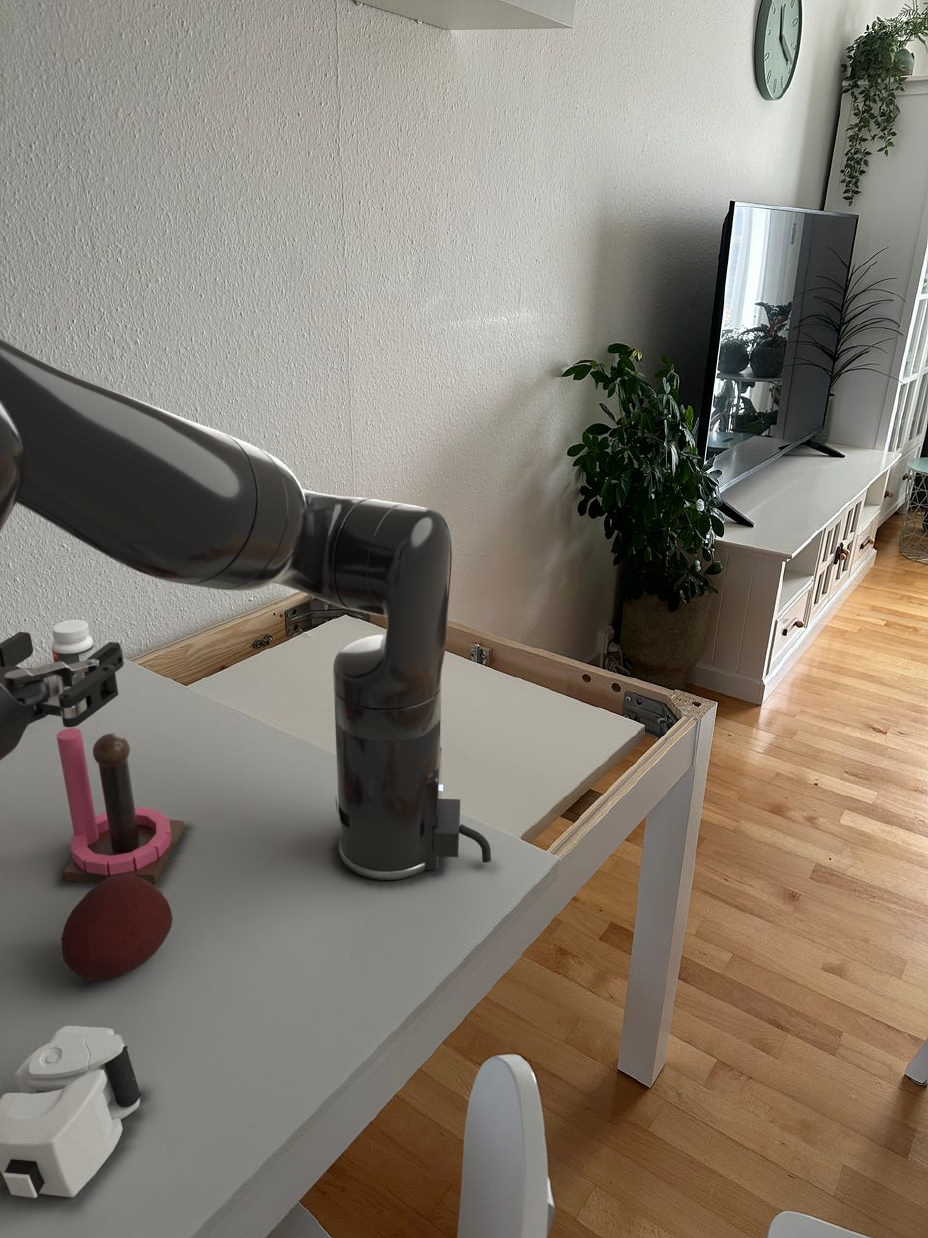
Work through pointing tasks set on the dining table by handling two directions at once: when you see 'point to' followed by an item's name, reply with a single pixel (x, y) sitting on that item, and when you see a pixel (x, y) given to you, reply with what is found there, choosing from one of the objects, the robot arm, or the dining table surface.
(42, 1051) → the white plastic gadget
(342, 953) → the dining table surface
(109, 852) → the stand
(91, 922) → the potato
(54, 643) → the pill bottle
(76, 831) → the pink ring with post
